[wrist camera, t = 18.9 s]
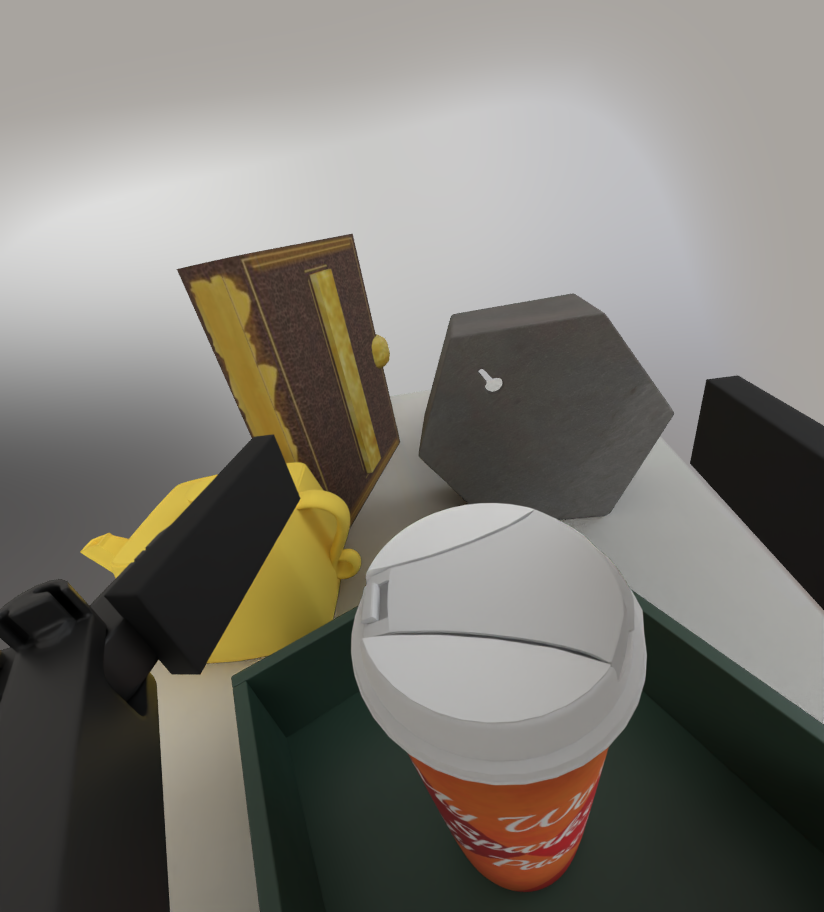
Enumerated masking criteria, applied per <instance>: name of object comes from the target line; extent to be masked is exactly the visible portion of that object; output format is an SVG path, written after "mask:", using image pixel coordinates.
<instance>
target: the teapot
mask: <svg viewBox="0 0 824 912" xmlns="http://www.w3.org/2000/svg"><path fill="white" fill-rule="evenodd" d="M286 464H287V467H288V469H289V472H290V474H291V476H292V479H293V481H294V484H295V486H296V489H297V491H298V493H299V496H300V498H301V499H300V501H299V502H298V504H297V506H296V508H295V509H294V511H293V513H292V515H291V516H290V518H289V520H288V522H287V523H286V525H285V527H284V529H283V530H282V532H281V534H280V536H279V537H278V539H277V541H276V543H275V544H274V546H273V548H272V550H271V551H270V553H269V555H268V557H267V558H266V560H265V562H264V564H263V565H262V567H261V569H260V571H259V572H258V574H257V576H256V578H255V579H254V581H253V583H252V585H251V586H250V588H249V590H248V592H247V593H246V595H245V597H244V599H243V600H242V602H241V604H240V606H239V607H238V609H237V611H236V613H235V614H234V616H233V618H232V620H231V621H230V623H229V625H228V627H227V628H226V630H225V632H224V634H223V635H222V637H221V639H220V641H219V642H218V644H217V646H216V648H215V649H214V651H213V653H212V655H211V656H210V658H209V660H208V662H207V663H220V662H234V661H242V660H249V659H255V658H260V657H265V656H269V655H271V654H273V653H275V652H276V651H278V650H280V649H282V648H284V647H285V646H287V645H289V644H291V643H292V642H294V641H296V640H298V639H300V638H301V637H303V636H305V635H307V634H309V633H310V632H312V631H314V630H316V629H318V628H319V627H321V626H323V625H325V624H327V623H328V622H330V621H332V620H333V617H334V613H335V608H336V603H337V598H338V592H339V586H340V580H341V579H347V578H350V577H352V576H354V575H355V574H357V572H358V571H359V569H360V566H361V557H360V555H359V553H358V552H357V551H355V550H353V549H344V545H345V542H346V539H347V536H348V532H349V527H350V512H349V509H348V507H347V505H346V503H345V502H344V501H343V500H342V499H341V498H340V497H338V496H337V495H335V494H333V493H331V492H327V491H323V489H322V487H321V486H320V484H319V483H318V481H317V480H316V479H315V477H314V476H313V474H312V473H311V471H310V470H309V469H308V467H307V466H306V465H305V464H304V463H299V462H295V463H286ZM216 476H217V475H214V476H208V477H204V478H200V479H196V480H192V481H188V482H185V483H182V484H179V485H177V486H176V487H175V488H174V489H173V490H172V491H171V492H170V493H169V494H168V495H167V496H166V497H165V498H164V499H163V500H162V501H161V503H160V504H159V505H158V506H157V507H156V508H155V509H154V510H153V511H152V513H151V514H150V515H149V516H148V517H147V518H146V520H145V521H144V522H143V523H142V524H141V525H140V527H139V528H138V529H137V530H136V531H135V533H134V534H133V535H132V536H131V537H130V539H126V538H122V537H117V536H113V535H112V534H110V533H107V534H105V535H102V536H100V537H97V538H95V539H92V540H91V541H90V542H89V543H88V544H87V545H86V546H85V547H84V548H83V549H82V550H81V551H80V552H81V553H82V554H83V555H85V556H87V557H88V558H90V559H92V560H93V561H95V562H96V563H98V564H100V565H101V566H103V567H104V568H106V569H108V570H109V571H111V572H112V573H114V576H115V578H117V577H118V576H119V575H120V573H121V572H122V571H123V570H124V569H125V568H126V567H127V566H128V565H129V564H130V563H131V562H134V559H135V558H136V557H137V556H138V555H139V554H140V553H141V551H142V550H145V549H146V548H145V547H146V546H147V545H148V544H149V543H150V542H151V541H152V540H153V539H154V538H155V537H156V536H157V535H158V534H159V533H160V532H161V531H163V530H164V529H166V528H167V527H168V526H170V525H171V524H172V523H173V522H174V521H175V520H176V519H177V518H178V517H179V516H180V515H181V513H182V512H183V511H184V510H185V509H186V508H187V507H188V506H189V505H190V504H191V503H192V502H193V501H194V500H195V499H196V498H197V496H198V495H199V494H200V493H201V492H202V491H203V490H204V489H205V488H206V487H207V486H208V485H209V484H210V483H211V482H212V481H213V479H214V478H215V477H216Z"/></svg>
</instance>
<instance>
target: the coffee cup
mask: <svg viewBox="0 0 824 912" xmlns="http://www.w3.org/2000/svg"><path fill="white" fill-rule="evenodd" d="M366 583H367V585H366V586H365V587H364V591H363V595H362V598H361V601H360V603H359V606H358V609H357V612H356V615H355V619H354V624H353V629H352V638H351V656H352V663H353V670H354V675H355V678H356V681H357V684H358V687H359V690H360V693H361V696H362V698H363V700H364V701H365V703H366V705H367V707H368V709H369V711H370V712H371V714H372V716H373V718H374V719H375V720H376V721H377V723H378V724H379V725H380V726H381V728H382V729H383V730H384V731H385V732H386V734H387V735H388V736H389V737H390V738H391V739H392V740H393V741H394V742H395V743H397V744H398V745H399V746H400V747H401V748H402V749H404V750H405V751H406V752H407V753H408V755H409V757H410V759H411V760H412V762H413V764H414V766H415V768H416V770H417V771H418V773H419V775H420V777H421V779H422V781H423V783H424V784H425V786H426V788H427V790H428V792H429V794H430V795H431V797H432V799H433V801H434V803H435V805H436V806H437V808H438V810H439V812H440V814H441V815H442V817H443V819H444V821H445V823H446V824H447V826H448V828H449V830H450V831H451V833H452V835H453V837H454V838H455V840H456V842H457V843H458V845H459V846H460V848H461V850H462V851H463V853H464V854H465V856H466V857H467V858H468V860H469V861H470V862H471V863H472V864H473V866H474V867H475V868H476V869H477V870H478V871H479V872H480V873H481V874H482V875H483V876H485V877H486V878H487V879H489V880H490V881H492V882H493V883H495V884H497V885H499V886H501V887H503V888H506V889H509V890H512V891H518V892H531V891H537V890H540V889H543V888H545V887H547V886H549V885H551V884H552V883H554V882H555V881H557V880H558V879H559V878H560V877H561V876H562V875H563V874H564V872H565V871H566V870H567V868H568V867H569V865H570V864H571V862H572V860H573V858H574V856H575V854H576V852H577V849H578V846H579V844H580V841H581V838H582V835H583V832H584V829H585V826H586V823H587V819H588V816H589V813H590V809H591V806H592V803H593V799H594V796H595V793H596V789H597V786H598V782H599V779H600V775H601V772H602V768H603V765H604V762H605V758H606V755H607V751H608V748H609V746H610V745H611V743H612V742H613V741H614V740H615V739H616V738H617V737H618V735H619V734H620V733H621V732H622V731H623V730H624V729H625V727H626V726H627V724H628V722H629V720H630V718H631V717H632V715H633V713H634V711H635V709H636V707H637V705H638V703H639V700H640V696H641V693H642V689H643V686H644V682H645V677H646V662H647V651H646V644H645V636H644V624H643V610H642V608H641V607H640V605H639V603H638V601H637V599H636V597H635V596H634V594H633V592H632V590H631V589H630V588H629V586H628V584H627V582H626V580H625V579H624V577H623V576H622V574H621V573H620V571H619V570H618V568H617V567H616V566H615V565H614V563H613V562H612V561H611V560H610V559H609V558H608V557H607V556H606V555H605V554H604V553H603V552H601V551H600V550H598V549H597V548H596V547H595V546H594V545H593V544H592V543H591V542H590V541H589V540H588V539H587V538H586V537H585V536H584V535H583V534H581V533H580V532H578V531H577V530H576V529H574V528H573V527H571V526H569V525H567V524H565V523H563V522H561V521H559V520H557V519H556V518H553V517H551V516H549V515H547V514H544V513H542V512H540V511H538V510H535V509H532V508H529V507H524V506H518V505H512V504H501V503H478V504H469V505H462V506H457V507H453V508H448V509H445V510H442V511H439V512H436V513H433V514H431V515H429V516H426V517H424V518H422V519H420V520H418V521H416V522H415V523H413V524H411V525H409V526H408V527H406V528H405V529H403V530H402V531H401V532H400V533H398V534H397V535H396V536H394V537H393V538H392V539H391V540H390V541H389V542H388V543H387V544H386V545H385V546H384V547H383V548H382V550H381V551H380V552H379V553H378V555H377V556H376V557H375V558H374V560H373V562H372V564H371V565H370V567H369V569H368V571H367V573H366Z"/></svg>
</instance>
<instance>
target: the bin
mask: <svg viewBox="0 0 824 912" xmlns="http://www.w3.org/2000/svg"><path fill="white" fill-rule="evenodd" d="M632 592H633V594H634V596H635V597H636V599H637V601H638V603H639V605H640V607H641V608H642V610H643V624H644V636H645V644H646V651H647V662H646V677H645V682H644V686H643V689H642V693H641V696H640V700H639V703H638V705H637V707H636V709H635V711H634V713H633V715H632V717H631V718H630V720H629V722H628V724H627V726H626V727H625V729H624V730H623V731H622V732H621V733H620V734H619V735H618V737H617V738H616V739H615V740H614V741H613V742H612V743H611V745H610V746H609V748H608V751H607V755H606V758H605V762H604V765H603V768H602V772H601V775H600V779H599V782H598V786H597V789H596V793H595V796H594V799H593V803H592V806H591V809H590V813H589V816H588V819H587V823H586V826H585V829H584V832H583V835H582V838H581V841H580V844H579V846H578V849H577V852H576V854H575V856H574V858H573V860H572V862H571V864H570V865H569V867H568V868H567V870H566V871H565V872H564V874H563V875H562V876H561V877H560V878H559V879H558V880H557V881H555V882H554V883H552V884H551V885H549V886H547V887H545V888H543V889H540V890H537V891H531V892H518V891H512V890H509V889H506V888H503V887H501V886H499V885H497V884H495V883H493V882H492V881H490V880H489V879H487V878H486V877H485V876H483V875H482V874H481V873H480V872H479V871H478V870H477V869H476V868H475V867H474V866H473V864H472V863H471V862H470V861H469V860H468V858H467V857H466V856H465V854H464V853H463V851H462V850H461V848H460V846H459V845H458V843H457V842H456V840H455V838H454V837H453V835H452V833H451V831H450V830H449V828H448V826H447V824H446V823H445V821H444V819H443V817H442V815H441V814H440V812H439V810H438V808H437V806H436V805H435V803H434V801H433V799H432V797H431V795H430V794H429V792H428V790H427V788H426V786H425V784H424V783H423V781H422V779H421V777H420V775H419V773H418V771H417V770H416V768H415V766H414V764H413V762H412V760H411V759H410V757H409V755H408V753H407V752H406V751H405V750H404V749H402V748H401V747H400V746H399V745H398V744H397V743H395V742H394V741H393V740H392V739H391V738H390V737H389V736H388V735H387V734H386V732H385V731H384V730H383V729H382V728H381V726H380V725H379V724H378V723H377V721H376V720H375V719H374V718H373V716H372V714H371V712H370V711H369V709H368V707H367V705H366V703H365V701H364V700H363V698H362V696H361V693H360V690H359V687H358V684H357V681H356V678H355V675H354V670H353V663H352V656H351V638H352V629H353V624H354V619H355V615H356V612H357V609H358V606H357V607H355V608H353V609H352V610H350V611H348V612H346V613H344V614H343V615H341V616H339V617H337V618H335V619H334V620H332V621H330V622H328V623H327V624H325V625H323V626H321V627H319V628H318V629H316V630H314V631H312V632H310V633H309V634H307V635H305V636H303V637H301V638H300V639H298V640H296V641H294V642H292V643H291V644H289V645H287V646H285V647H284V648H282V649H280V650H278V651H276V652H275V653H273V654H271V655H269V656H267V657H266V658H264V659H262V660H260V661H258V662H257V663H255V664H253V665H251V666H250V667H248V668H246V669H244V670H242V671H241V672H239V673H237V674H235V675H233V676H232V677H231V679H232V687H233V696H234V704H235V712H236V720H237V728H238V737H239V745H240V753H241V761H242V769H243V778H244V786H245V794H246V802H247V810H248V818H249V827H250V835H251V843H252V851H253V859H254V868H255V876H256V884H257V892H258V900H259V909H260V912H824V724H822V723H821V722H819V721H818V720H816V719H815V718H814V717H812V716H811V715H809V714H808V713H806V712H805V711H804V710H802V709H801V708H799V707H798V706H796V705H795V704H794V703H792V702H791V701H789V700H788V699H786V698H785V697H784V696H782V695H781V694H779V693H778V692H776V691H775V690H774V689H772V688H771V687H769V686H768V685H767V684H765V683H764V682H762V681H761V680H759V679H758V678H757V677H755V676H754V675H752V674H751V673H749V672H748V671H747V670H745V669H744V668H742V667H741V666H739V665H738V664H737V663H735V662H734V661H732V660H731V659H729V658H728V657H727V656H725V655H724V654H722V653H721V652H719V651H718V650H717V649H715V648H714V647H712V646H711V645H709V644H708V643H707V642H705V641H704V640H702V639H701V638H699V637H698V636H697V635H695V634H694V633H692V632H691V631H689V630H688V629H687V628H685V627H684V626H682V625H681V624H679V623H678V622H677V621H675V620H674V619H672V618H671V617H669V616H668V615H667V614H665V613H664V612H662V611H661V610H660V609H658V608H657V607H655V606H654V605H652V604H651V603H650V602H648V601H647V600H645V599H644V598H642V597H641V596H640V595H638V594H637V593H635V592H634V591H632Z"/></svg>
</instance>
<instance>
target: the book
mask: <svg viewBox="0 0 824 912" xmlns="http://www.w3.org/2000/svg"><path fill="white" fill-rule="evenodd" d="M177 270H178V273H179V275H180V277H181V279H182V282H183V284H184V286H185V288H186V291H187V293H188V295H189V298H190V300H191V302H192V304H193V306H194V309H195V311H196V313H197V316H198V318H199V320H200V322H201V324H202V327H203V329H204V331H205V333H206V336H207V338H208V340H209V343H210V345H211V347H212V349H213V352H214V354H215V356H216V358H217V361H218V363H219V365H220V367H221V370H222V372H223V374H224V376H225V379H226V381H227V383H228V385H229V387H230V390H231V392H232V394H233V396H234V399H235V401H236V403H237V406H238V408H239V410H240V412H241V415H242V417H243V419H244V421H245V424H246V426H247V428H248V430H249V433H250V435H251V437H252V438H253V437H256V436H264V435H272V434H274V436H275V438H276V440H277V443H278V445H279V448H280V450H281V452H282V455H283V457H284V460H285V462H286V463H295V462H299V463H304V464H305V465H306V466H307V467H308V469H309V470H310V471H311V473H312V474H313V476H314V477H315V479H316V480H317V481H318V483H319V484H320V486H321V487H322V489H323V491H327V492H331V493H333V494H335V495H337V496H338V497H340V498H341V499H342V500H343V501H344V502H345V503H346V505H347V507H348V509H349V512H350V527H351V525H352V523H353V522H354V520H355V518H356V517H357V515H358V513H359V511H360V510H361V508H362V506H363V505H364V503H365V501H366V499H367V498H368V496H369V494H370V493H371V491H372V489H373V487H374V486H375V484H376V482H377V481H378V479H379V477H380V475H381V474H382V472H383V470H384V469H385V467H386V465H387V463H388V462H389V460H390V458H391V457H392V455H393V453H394V451H395V450H396V448H397V446H398V445H399V443H400V439H399V435H398V431H397V426H396V422H395V417H394V413H393V409H392V404H391V400H390V396H389V391H388V387H387V383H386V378H385V374H384V369H383V367H384V366H385V365H386V364H387V362H388V361H389V356H390V353H389V348H388V344H387V342H386V340H385V339H384V338H383V337H381V336H379V335H376V334H375V330H374V326H373V321H372V317H371V313H370V308H369V304H368V300H367V295H366V291H365V286H364V282H363V278H362V273H361V269H360V264H359V260H358V256H357V251H356V248H355V243H354V238H353V234H349V235H343V236H338V237H333V238H327V239H323V240H317V241H312V242H306V243H301V244H296V245H290V246H285V247H280V248H275V249H270V250H264V251H259V252H254V253H249V254H244V255H239V256H234V257H229V258H225V259H220V260H215V261H211V262H206V263H202V264H198V265H193V266H189V267H185V268H181V269H177ZM350 527H349V528H350Z"/></svg>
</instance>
